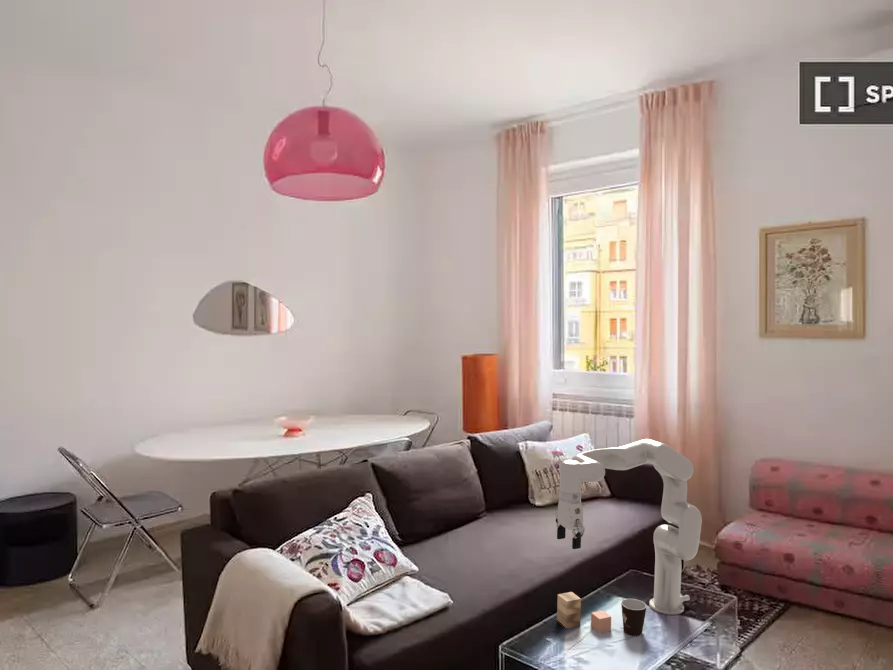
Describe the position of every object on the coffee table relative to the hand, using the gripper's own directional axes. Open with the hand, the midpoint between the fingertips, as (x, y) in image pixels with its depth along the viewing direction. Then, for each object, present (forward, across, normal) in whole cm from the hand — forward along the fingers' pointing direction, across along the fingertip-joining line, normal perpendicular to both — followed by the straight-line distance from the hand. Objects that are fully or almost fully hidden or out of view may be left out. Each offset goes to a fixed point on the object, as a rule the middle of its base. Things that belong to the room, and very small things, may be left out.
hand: (568, 543), depth 236 cm
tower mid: (+26, +3, -3) cm, 26 cm away
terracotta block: (+31, -4, -12) cm, 34 cm away
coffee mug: (+31, -9, -22) cm, 39 cm away
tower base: (+31, +3, -3) cm, 31 cm away
